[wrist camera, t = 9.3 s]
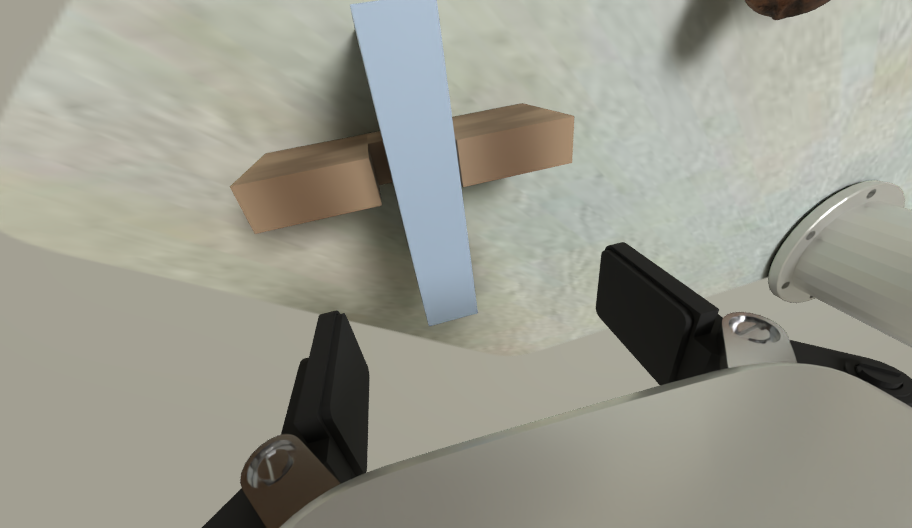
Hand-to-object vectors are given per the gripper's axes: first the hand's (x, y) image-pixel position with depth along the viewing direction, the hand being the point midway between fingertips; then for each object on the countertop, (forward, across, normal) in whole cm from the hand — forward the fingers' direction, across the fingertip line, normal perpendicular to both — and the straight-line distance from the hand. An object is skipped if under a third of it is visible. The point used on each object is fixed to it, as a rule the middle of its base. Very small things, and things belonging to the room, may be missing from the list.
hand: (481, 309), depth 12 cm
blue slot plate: (+10, +1, -3) cm, 11 cm away
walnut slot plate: (+10, +1, -4) cm, 11 cm away
